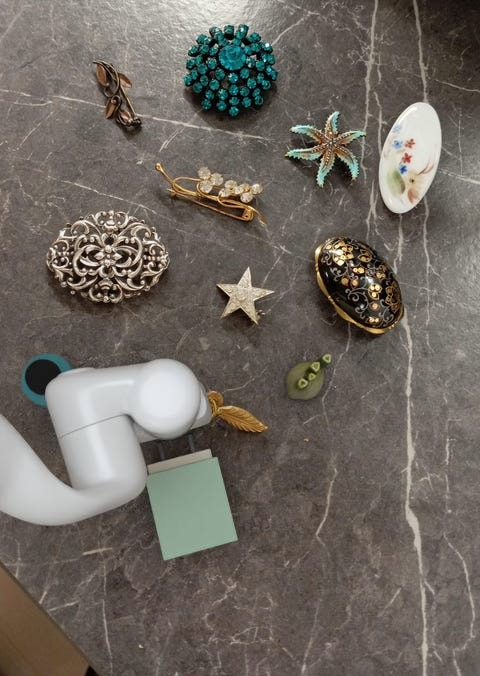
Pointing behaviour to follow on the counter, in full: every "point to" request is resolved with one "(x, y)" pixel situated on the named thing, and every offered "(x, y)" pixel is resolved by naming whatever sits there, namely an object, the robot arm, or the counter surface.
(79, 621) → the counter surface
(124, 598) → the counter surface
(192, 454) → the drawer
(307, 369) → the fennel bulb
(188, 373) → the robot arm
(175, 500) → the green drawer cabinet
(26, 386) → the beverage bottle
